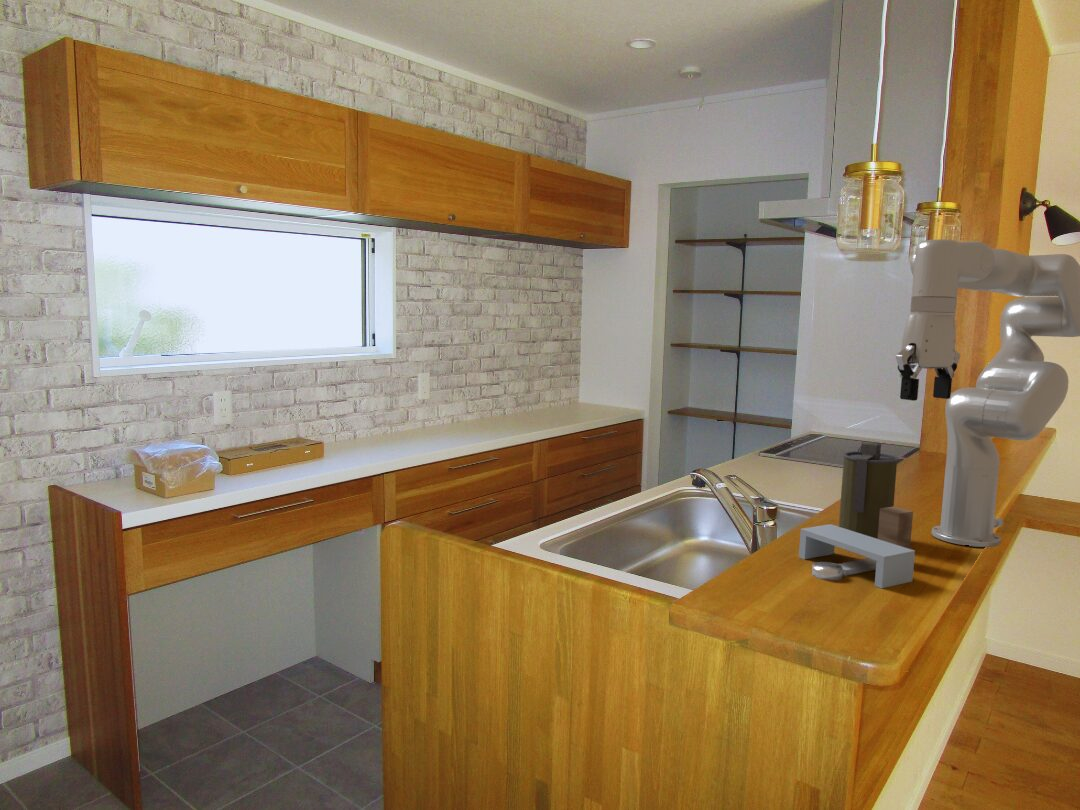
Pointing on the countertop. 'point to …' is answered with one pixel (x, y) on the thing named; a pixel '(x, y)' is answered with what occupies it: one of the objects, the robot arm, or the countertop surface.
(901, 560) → the shelf
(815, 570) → the token
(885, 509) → the pusher
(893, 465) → the canister
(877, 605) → the countertop surface
